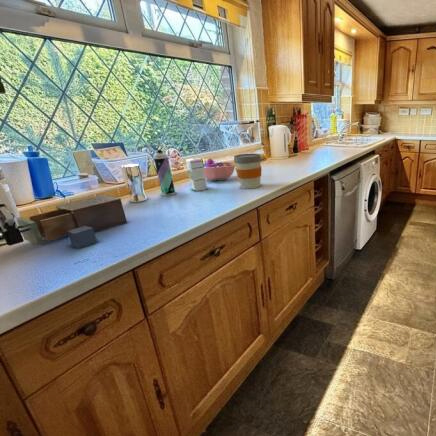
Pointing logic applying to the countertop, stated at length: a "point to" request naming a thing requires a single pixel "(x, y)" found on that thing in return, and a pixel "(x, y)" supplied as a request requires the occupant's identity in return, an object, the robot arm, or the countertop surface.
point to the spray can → (164, 173)
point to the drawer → (46, 226)
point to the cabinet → (96, 212)
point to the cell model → (218, 170)
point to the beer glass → (134, 182)
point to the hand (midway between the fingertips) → (10, 240)
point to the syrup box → (196, 174)
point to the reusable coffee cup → (248, 170)
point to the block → (82, 236)
